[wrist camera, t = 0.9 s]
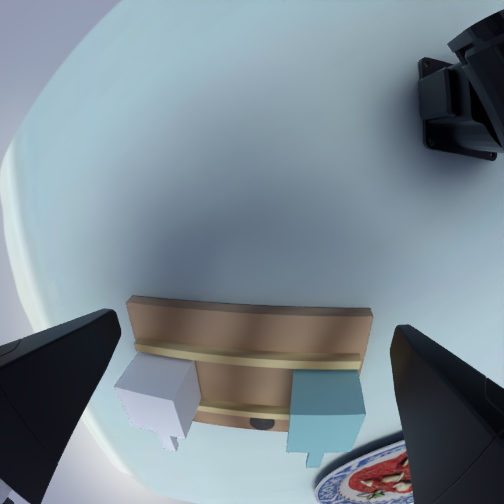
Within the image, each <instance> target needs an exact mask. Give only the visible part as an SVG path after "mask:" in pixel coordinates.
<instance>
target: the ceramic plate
mask: <svg viewBox="0 0 504 504" xmlns="http://www.w3.org/2000/svg"><path fill="white" fill-rule="evenodd" d="M315 498H316V500H317V501H318V502H319V503H320V504H409V503H412V502H414V501H413V492H412V484H411V477H410V470H409V463H408V457H407V451H406V446H405V440H402V441H399V442H397V443H394V444H391V445H388V446H386V447H383V448H380V449H377V450H375V451H373V452H370V453H368V454H365V455H363V456H361V457H359V458H357V459H355V460H352V461H350V462H348V463H346V464H344V465H343V466H341V467H339V468H337V469H336V470H334V471H333V472H331V473H330V474H328V475H327V476H326V477H324V478H323V479H322V480H321V481H320V482H319V484H318V485H317V487H316V489H315Z"/></svg>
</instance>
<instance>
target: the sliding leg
mask: <svg viewBox="0 0 504 504" xmlns="http://www.w3.org/2000/svg"><path fill="white" fill-rule="evenodd" d="M365 415H366V412H365V406H364V400H363V395H362V389H361V384H360V379H359V373H358V369H334V370H333V369H294V371H293V383H292V394H291V404H290V417H289V428H288V440H287V450H286V452H301V453H308V455H307V459H306V468H319V467H320V464H321V461H322V458H323V455H324V453H332V452H351V450H352V448H353V445H354V443H355V440H356V438H357V436H358V433H359V431H360V428H361V426H362V423H363V420H364V418H365Z"/></svg>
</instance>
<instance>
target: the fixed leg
mask: <svg viewBox="0 0 504 504" xmlns="http://www.w3.org/2000/svg"><path fill="white" fill-rule="evenodd" d="M114 389H115V391H116V393H117V395H118V398H119V400H120V402H121V404H122V407H123V409H124V411H125V413H126V415H127V417H128V419H129V421H130V423H131V425H132V426H135V427H138V428H142V429H145V430H149V431H153V432H156V433H157V434H158V436H159V438H160V440H161V443H162V445H163V447H164V449H167V450H171V451H175V452H176V451H177V448H178V446H179V445H178V442H177V440H176V439H177V438H182V439H186V436H187V434H188V431H189V429H190V426H191V424H192V421H193V419H194V416H195V414H196V411H197V408H198V406H199V403H200V401H201V398H202V397H201V393H200V388H199V382H198V377H197V372H196V367H195V361H194V360H189V359H182V358H175V357H168V356H162V355H156V354H151V353H145V352H140V351H139V352H138V353H137V355H136V356H135V358H134V359H133V360H132V362H131V363H130V364H129V366H128V367H127V369H126V370H125V371H124V373H123V374H122V376H121V377H120V378H119V380H118V381H117V382H116V384H115V385H114Z"/></svg>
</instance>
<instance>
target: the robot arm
mask: <svg viewBox="0 0 504 504" xmlns="http://www.w3.org/2000/svg"><path fill="white" fill-rule="evenodd" d="M447 45H448V46H449V48H450V49H451V50H452V52H453V53H454V52H455V54H456V55H457V57H458V58H459V60H460V61H461V62H459V63H457V64H455V65H453V64H450V63H446V62H443V61H439V60H435V59H431V58H426V57H424V58H422V59H421V60H420V61H419V68H420V78H421V80H420V81H419V82H418V86H419V101H420V116H421V118H422V119H423V143H424V145H425V147H426V148H427V149H431V150H437V151H444V152H449V153H455V154H461V155H466V156H471V157H476V158H481V159H485V160H490V161H494V160H496V158H497V152H498V153H504V10H501V11H499V12H497V13H495V14H493V15H490V16H488V17H487V18H485V19H483V20H481V21H479V22H477V23H475V24H474V25H472V26H470V27H469V28H467V29H466V30H465V31H463V32H462V33H461V34H459V35H458V36H457V37H456V38H454V39H453V40H452V41H450V42H449V43H448V44H447ZM424 62H426V63H427V64H428V66H429V67H426V66H425V64H424ZM429 139H432V141H433V144H432V145H430V144H429ZM490 152H492V156H490ZM120 337H121V328H120V324H119V321H118V317H117V314H116V312H115V311H114V310H112V309H101V310H98V311H96V312H93V313H90V314H87V315H85V316H82V317H79V318H76V319H74V320H71V321H68V322H66V323H63V324H60V325H57V326H55V327H52V328H49V329H46V330H44V331H41V332H38V333H35V334H33V335H30V336H27V337H24V338H23V339H19V340H16V341H13V342H10V343H7V344H5V345H1V346H0V504H14V502H13V501H12V500H11V499H9V498H8V495H9V494H10V492H11V491H12V490H13V491H15V492H16V493H17V494H18V495H20V496H21V497H22V498H23V499H25V500H26V501H27V502H28V503H30V504H41V502H42V500H43V497H44V495H45V492H46V490H47V488H48V485H49V483H50V481H51V478H52V476H53V474H54V472H55V469H56V467H57V465H58V462H59V460H60V458H61V456H62V454H63V452H64V449H65V448H66V446H67V443H68V441H69V439H70V437H71V435H72V433H73V431H74V429H75V427H76V425H77V423H78V421H79V419H80V417H81V416H82V414H83V412H84V410H85V408H86V406H87V404H88V402H89V400H90V398H91V396H92V395H93V393H94V391H95V389H96V387H97V385H98V384H99V382H100V380H101V378H102V376H103V374H104V373H105V371H106V369H107V366H108V364H109V362H110V360H111V357H112V355H113V353H114V350H115V348H116V346H117V344H118V341H119V339H120ZM390 358H391V365H392V373H393V381H394V390H395V397H396V402H397V406H398V411H399V415H400V420H401V425H402V430H403V435H404V440H405V446H406V451H407V457H408V463H409V470H410V477H411V484H412V492H413V501H414V504H504V388H502V387H501V386H499V385H498V384H496V383H495V382H493V381H492V380H490V379H489V378H486V376H485V375H483V374H482V373H480V372H479V371H477V370H476V369H475V368H473V367H472V366H470V365H469V364H467V363H466V362H464V361H463V360H461V359H460V358H459V357H457V356H456V355H454V354H453V353H451V352H450V351H448V350H447V349H445V348H444V347H442V346H441V345H439V344H438V343H436V342H435V341H433V340H432V339H430V338H429V337H427V336H426V335H424V334H423V333H421V332H420V331H418V330H417V329H415V328H414V327H412V326H411V325H408V324H407V325H397V326H396V328H395V331H394V335H393V339H392V343H391V347H390Z"/></svg>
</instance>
